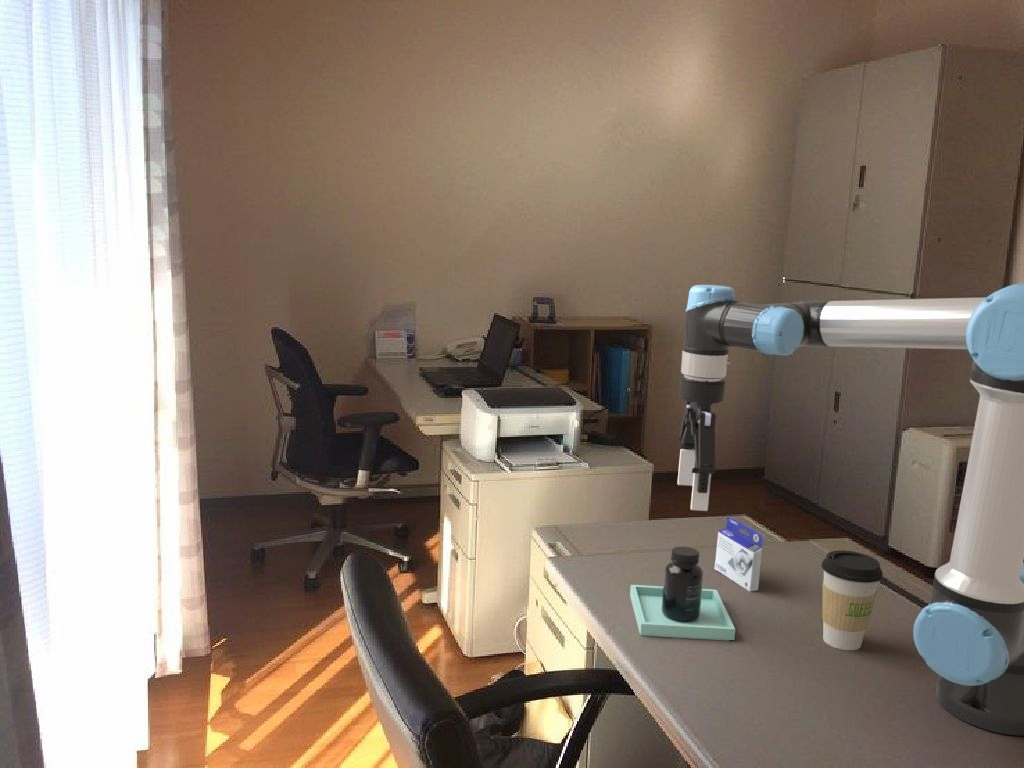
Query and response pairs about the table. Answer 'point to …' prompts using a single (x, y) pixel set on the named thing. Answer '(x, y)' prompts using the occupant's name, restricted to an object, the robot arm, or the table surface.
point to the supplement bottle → (682, 585)
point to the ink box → (739, 554)
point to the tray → (655, 623)
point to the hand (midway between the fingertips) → (691, 496)
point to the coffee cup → (848, 597)
